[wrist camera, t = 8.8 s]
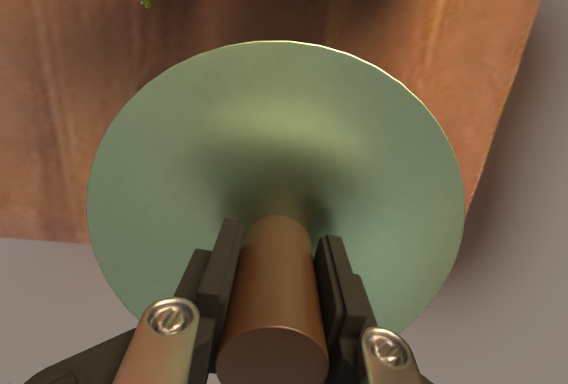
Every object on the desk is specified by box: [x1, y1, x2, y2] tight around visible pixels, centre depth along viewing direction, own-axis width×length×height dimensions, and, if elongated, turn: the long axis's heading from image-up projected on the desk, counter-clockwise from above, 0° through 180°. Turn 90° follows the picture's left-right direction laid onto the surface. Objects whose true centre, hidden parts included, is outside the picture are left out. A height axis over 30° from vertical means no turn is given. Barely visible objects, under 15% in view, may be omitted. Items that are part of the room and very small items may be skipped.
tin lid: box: [86, 40, 465, 384], centre depth 11 cm, size 15×15×7 cm
